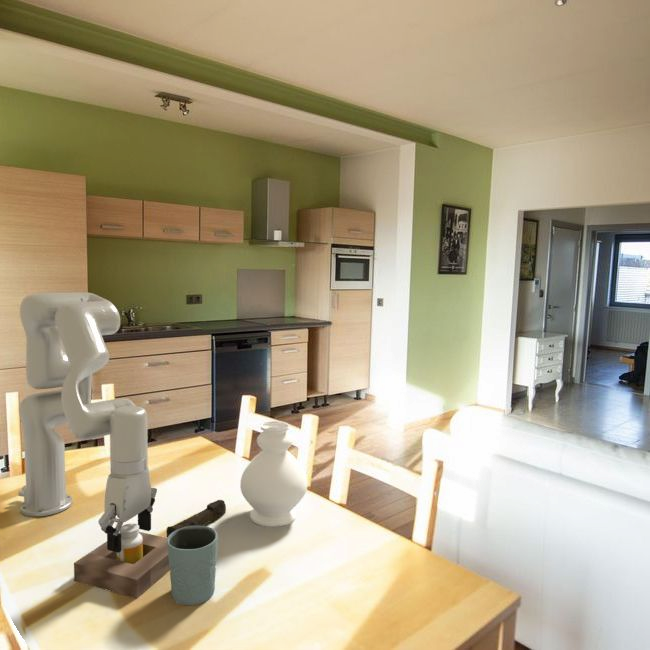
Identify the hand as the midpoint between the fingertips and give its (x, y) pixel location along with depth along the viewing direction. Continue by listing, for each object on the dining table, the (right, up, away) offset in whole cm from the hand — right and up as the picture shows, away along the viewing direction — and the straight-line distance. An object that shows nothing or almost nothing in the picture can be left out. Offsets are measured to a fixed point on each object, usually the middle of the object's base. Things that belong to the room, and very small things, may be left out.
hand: (130, 539), depth 118 cm
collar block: (0, -7, +1) cm, 7 cm away
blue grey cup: (+15, -8, -7) cm, 19 cm away
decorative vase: (+29, -5, +27) cm, 40 cm away
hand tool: (+10, -5, +21) cm, 24 cm away
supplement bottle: (0, -7, 0) cm, 7 cm away
